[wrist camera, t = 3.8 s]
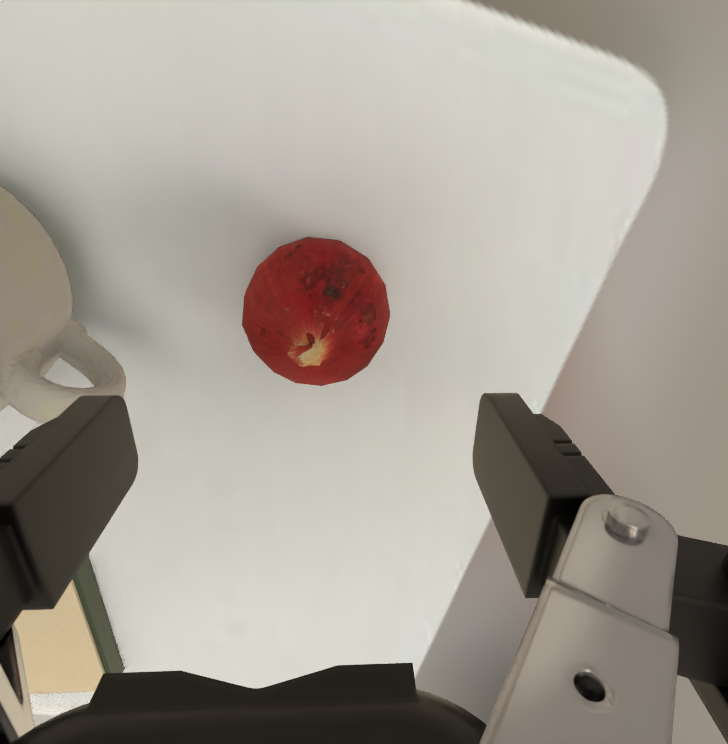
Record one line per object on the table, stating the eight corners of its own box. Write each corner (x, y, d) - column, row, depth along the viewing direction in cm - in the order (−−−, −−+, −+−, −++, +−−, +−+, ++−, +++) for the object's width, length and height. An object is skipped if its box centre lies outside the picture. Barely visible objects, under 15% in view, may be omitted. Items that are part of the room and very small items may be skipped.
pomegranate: (294, 199, 20) (270, 225, 13) (404, 266, 22) (436, 321, 15) (238, 310, 22) (191, 385, 15) (342, 364, 24) (344, 455, 17)
